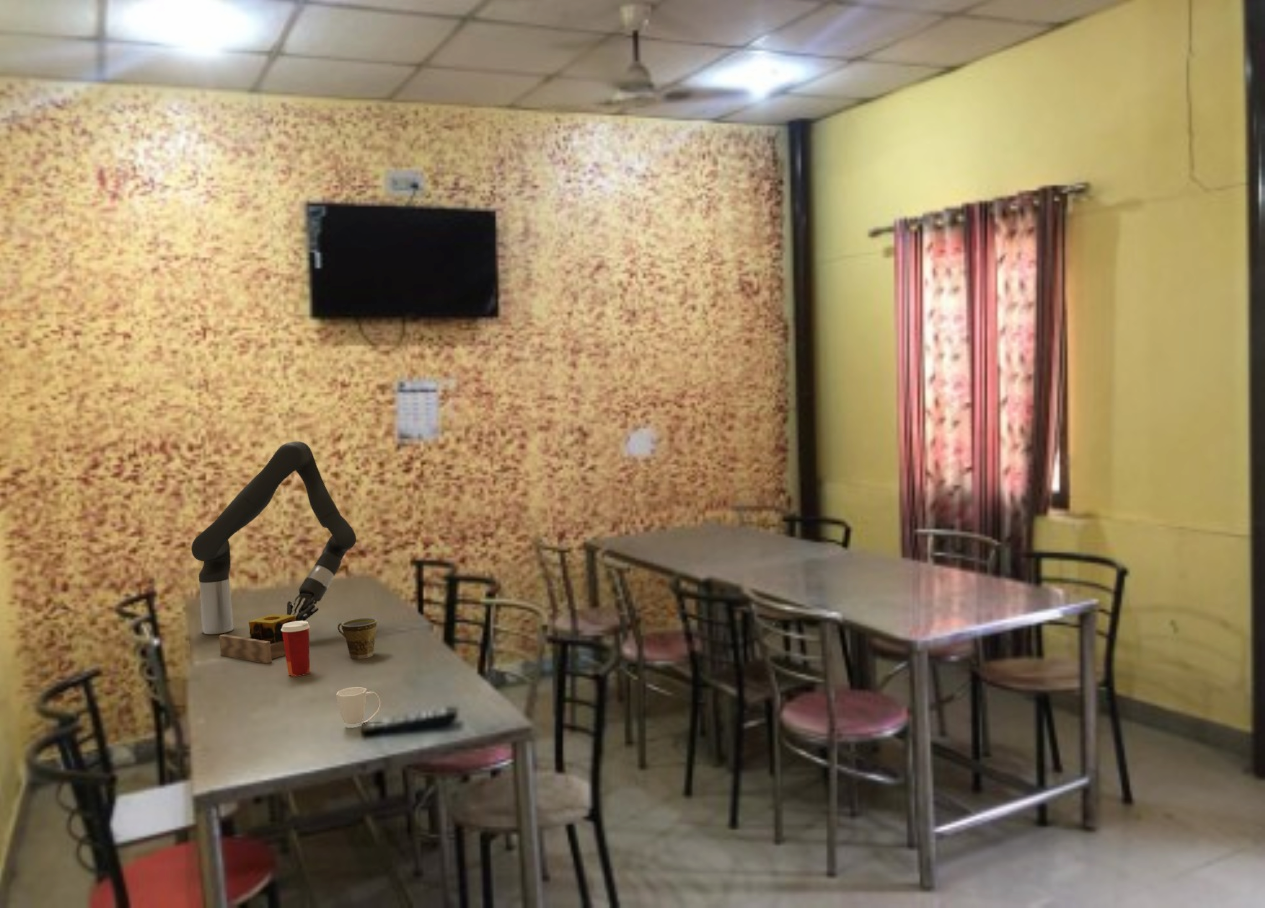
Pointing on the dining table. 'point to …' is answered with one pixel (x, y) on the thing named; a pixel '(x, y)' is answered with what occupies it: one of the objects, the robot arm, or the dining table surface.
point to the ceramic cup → (359, 636)
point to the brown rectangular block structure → (250, 648)
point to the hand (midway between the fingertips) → (288, 630)
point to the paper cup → (297, 647)
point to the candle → (269, 627)
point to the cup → (354, 704)
